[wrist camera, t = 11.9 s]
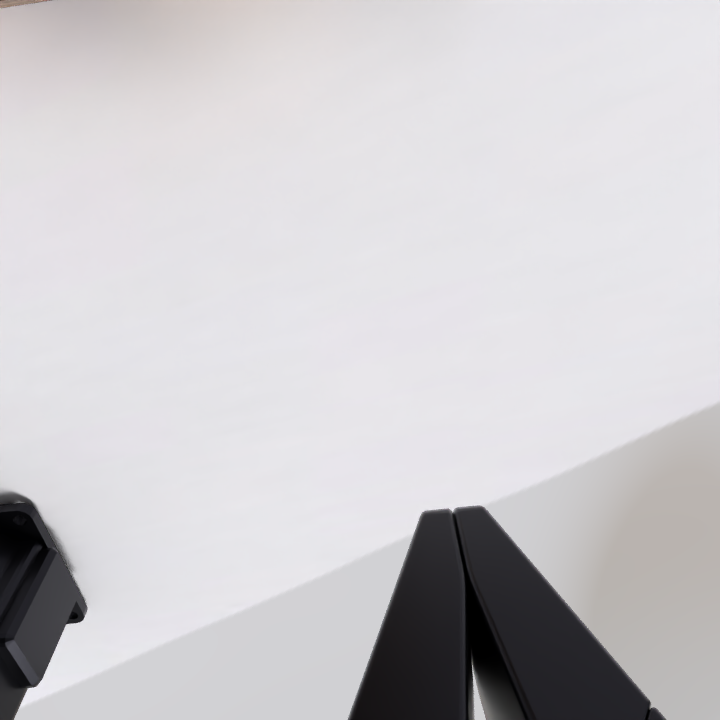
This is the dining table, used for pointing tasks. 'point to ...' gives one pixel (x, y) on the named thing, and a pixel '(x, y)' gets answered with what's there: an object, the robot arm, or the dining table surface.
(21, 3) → the cabinet
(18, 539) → the robot arm
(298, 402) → the dining table surface
